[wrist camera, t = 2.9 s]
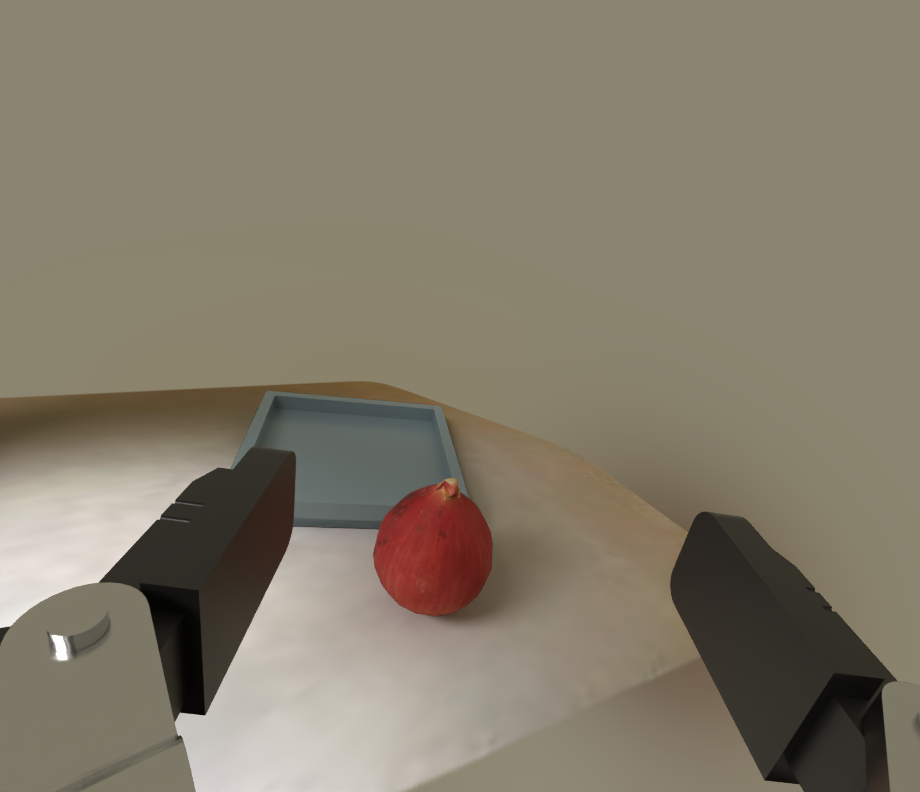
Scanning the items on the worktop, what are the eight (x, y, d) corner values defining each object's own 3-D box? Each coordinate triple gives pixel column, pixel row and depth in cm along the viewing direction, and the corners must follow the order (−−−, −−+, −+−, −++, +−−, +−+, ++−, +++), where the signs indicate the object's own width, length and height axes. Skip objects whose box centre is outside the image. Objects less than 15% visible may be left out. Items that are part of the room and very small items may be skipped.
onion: (343, 618, 24) (359, 482, 21) (403, 552, 29) (422, 434, 26) (448, 676, 22) (482, 536, 19) (493, 594, 27) (525, 473, 24)
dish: (217, 523, 29) (217, 498, 28) (266, 409, 42) (266, 390, 41) (467, 531, 32) (472, 509, 31) (438, 423, 45) (441, 406, 45)
